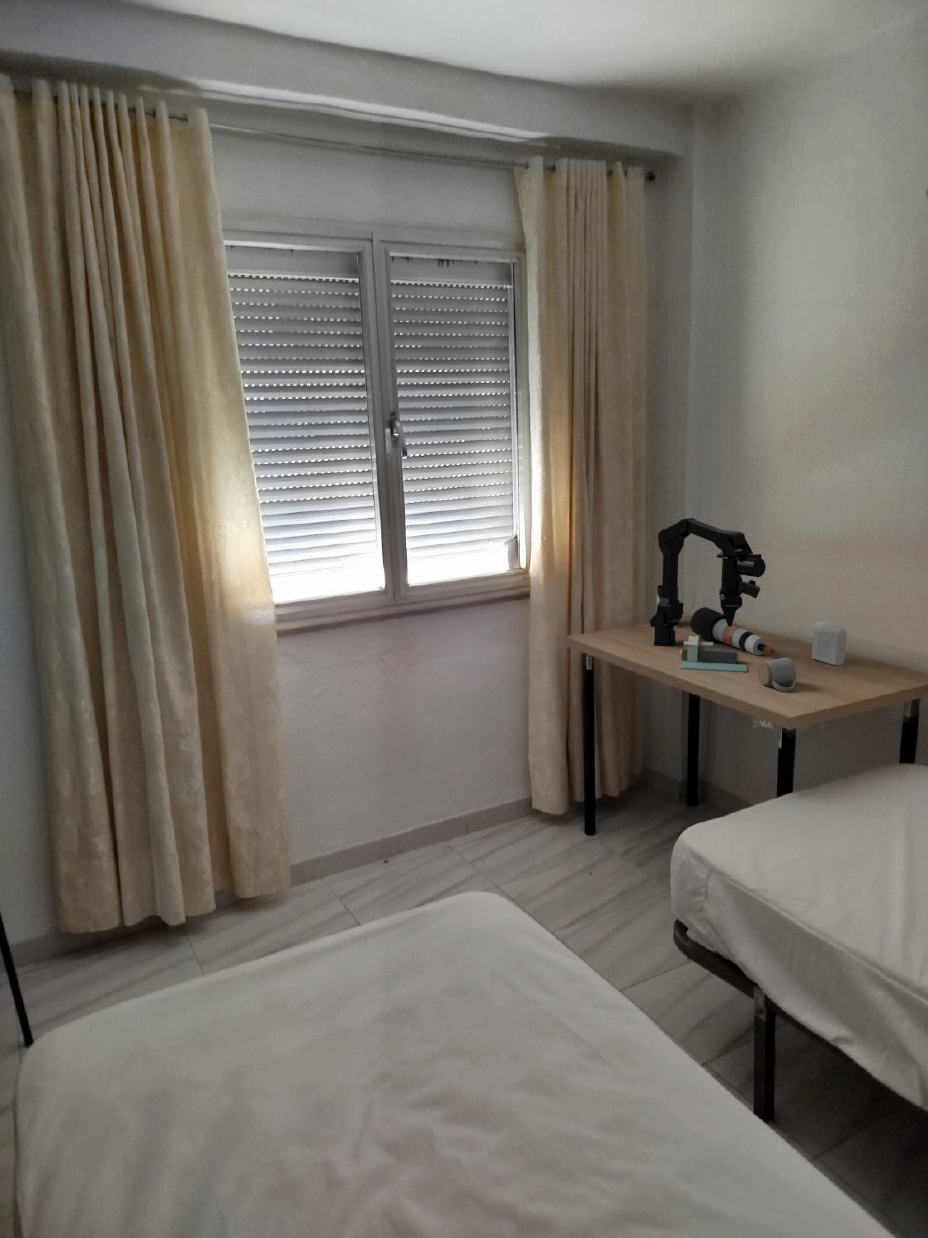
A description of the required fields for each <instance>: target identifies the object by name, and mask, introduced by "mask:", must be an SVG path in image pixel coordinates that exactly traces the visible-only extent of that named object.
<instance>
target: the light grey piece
mask: <svg viewBox="0 0 928 1238" xmlns="http://www.w3.org/2000/svg"><path fill="white" fill-rule="evenodd" d="M699 637H700V635H688V640H687V641H688V651H687V661H686V662H697V653H698V642H700V640H699Z"/></svg>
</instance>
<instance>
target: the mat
mask: <svg viewBox="0 0 928 1238" xmlns="http://www.w3.org/2000/svg"><path fill="white" fill-rule="evenodd" d="M747 668H748V667H747V664H740V663H739V664H737V663H735V664H721V663H708V662H687V661H682V662H681V666H680V669H681V670H695V671H696V670H697V671H698V670H699V671H715V672H730V673H732V672H733V673H748V669H747Z"/></svg>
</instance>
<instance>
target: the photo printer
mask: <svg viewBox="0 0 928 1238" xmlns="http://www.w3.org/2000/svg"><path fill="white" fill-rule="evenodd" d="M846 644H847V630H846V628H844V627H843V626H841V625H840V624H837V623H834V622H831V621H820V622H816V623H815V624H814V626H813V633H812V646H811V658H812V659H813V660H816V661H820V662H824V663H827V664H830V665H833V666H837V667H838V666H843V664H845V657H846V656H845V655H846V647H847V645H846Z"/></svg>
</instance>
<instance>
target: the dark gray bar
mask: <svg viewBox="0 0 928 1238" xmlns="http://www.w3.org/2000/svg"><path fill="white" fill-rule="evenodd" d="M687 651H688V646H684V645H683V648H682V649H680V650H679V658H681V661H682V662H687ZM739 656H740V654H739V653H738V652H737V649H734V648H733V649H732V648H718V647H716V648H715V647H713V648H705V647H698V653H697V662H702V663H721V664H737V663H738V662H739V659H740V657H739ZM736 662H737V663H736Z"/></svg>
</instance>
